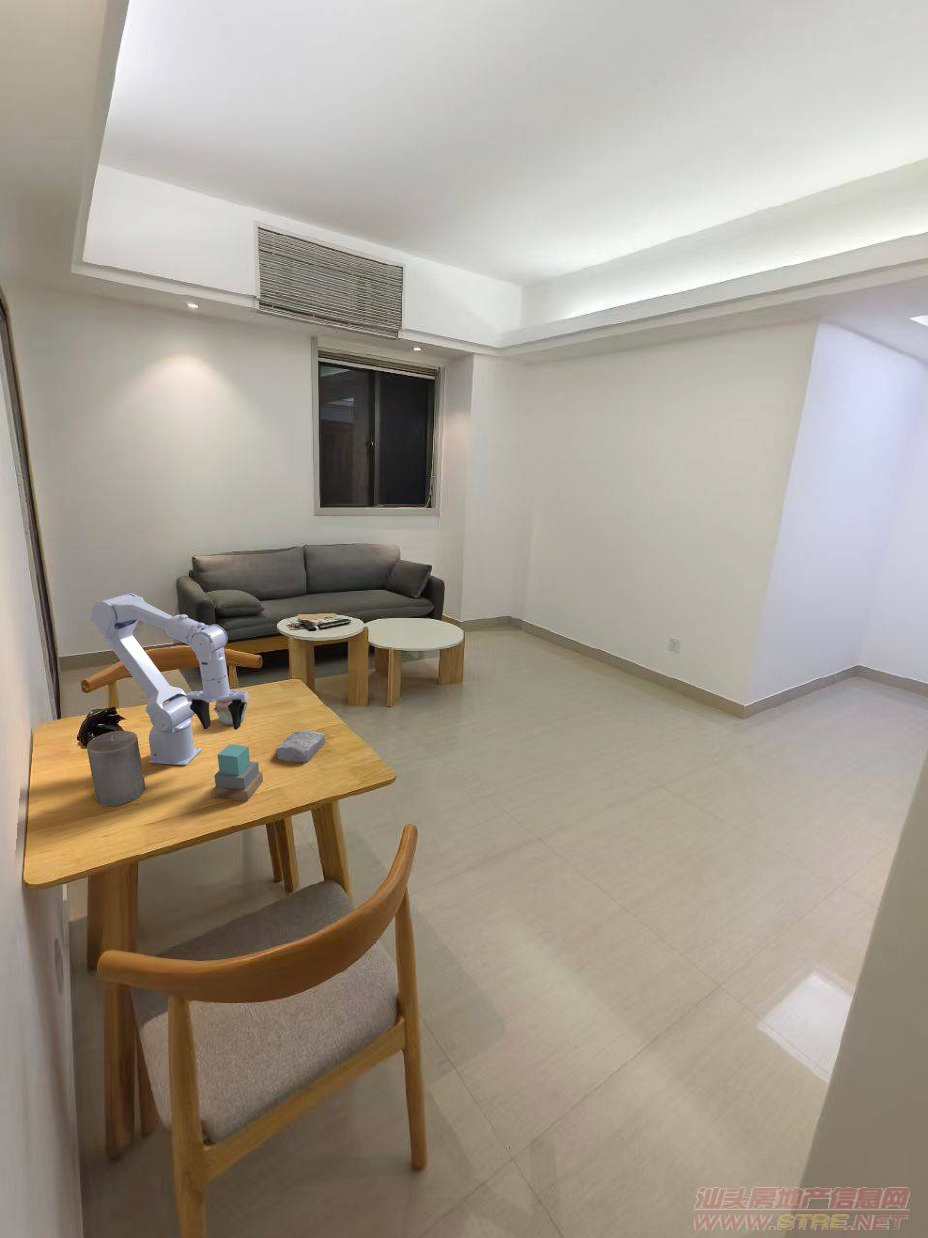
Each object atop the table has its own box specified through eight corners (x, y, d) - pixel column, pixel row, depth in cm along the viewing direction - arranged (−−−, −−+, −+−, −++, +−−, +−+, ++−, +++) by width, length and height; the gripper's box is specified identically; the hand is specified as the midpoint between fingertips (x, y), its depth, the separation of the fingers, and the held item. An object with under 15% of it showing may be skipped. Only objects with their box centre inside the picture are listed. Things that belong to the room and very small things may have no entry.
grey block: (215, 786, 127) (214, 775, 126) (231, 770, 133) (230, 759, 133) (244, 789, 126) (243, 778, 125) (259, 773, 133) (258, 762, 132)
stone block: (274, 766, 144) (309, 764, 142) (270, 749, 143) (305, 747, 141) (296, 745, 155) (329, 743, 153) (292, 729, 154) (325, 727, 152)
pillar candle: (113, 781, 132) (104, 724, 127) (154, 783, 131) (145, 726, 127) (85, 806, 122) (74, 745, 118) (129, 808, 122) (119, 748, 118)
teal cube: (219, 773, 127) (217, 754, 125) (231, 762, 131) (229, 744, 130) (238, 775, 126) (237, 757, 125) (250, 764, 131) (248, 746, 129)
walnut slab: (214, 800, 127) (213, 788, 126) (231, 780, 135) (230, 769, 134) (248, 803, 126) (247, 791, 126) (263, 783, 134) (262, 772, 133)
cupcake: (213, 717, 165) (210, 686, 162) (246, 711, 169) (244, 681, 166) (216, 731, 157) (213, 698, 154) (251, 724, 161) (248, 693, 158)
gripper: (176, 682, 130) (185, 735, 134) (236, 682, 129) (243, 735, 133) (192, 671, 137) (200, 721, 140) (249, 671, 136) (256, 722, 140)
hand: (222, 727), depth 137 cm, fingers open, 7 cm apart
